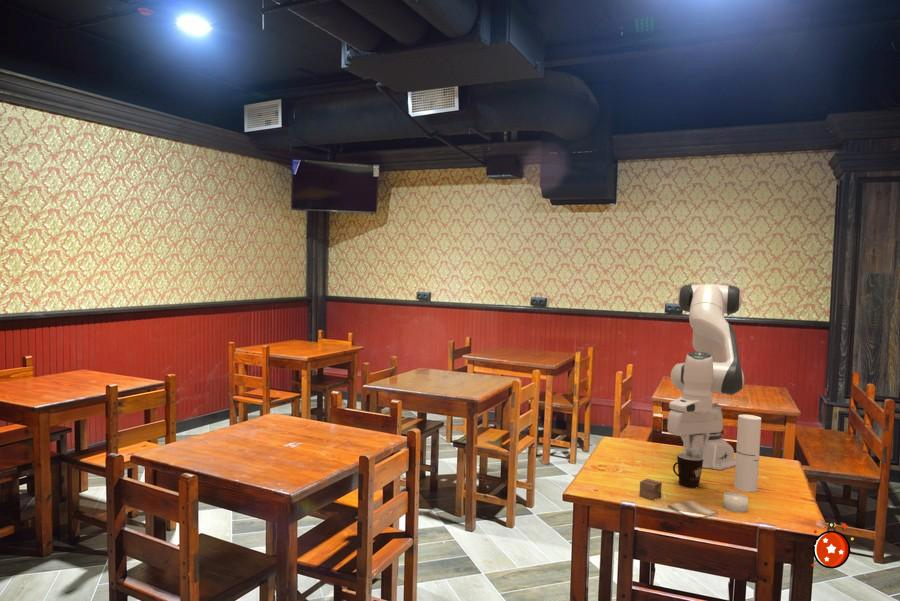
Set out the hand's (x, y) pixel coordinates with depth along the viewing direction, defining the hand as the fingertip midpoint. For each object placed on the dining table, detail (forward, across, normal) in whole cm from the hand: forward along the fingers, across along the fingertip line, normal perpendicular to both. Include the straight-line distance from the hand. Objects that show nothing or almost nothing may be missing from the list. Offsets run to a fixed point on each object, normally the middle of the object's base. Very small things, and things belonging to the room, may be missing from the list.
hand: (694, 447), depth 191 cm
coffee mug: (+18, -13, -16) cm, 27 cm away
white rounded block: (+19, -12, +6) cm, 23 cm away
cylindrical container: (+18, -31, -6) cm, 36 cm away
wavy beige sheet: (+19, +3, +3) cm, 19 cm away
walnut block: (+19, +7, -11) cm, 23 cm away
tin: (+3, 0, 0) cm, 3 cm away
